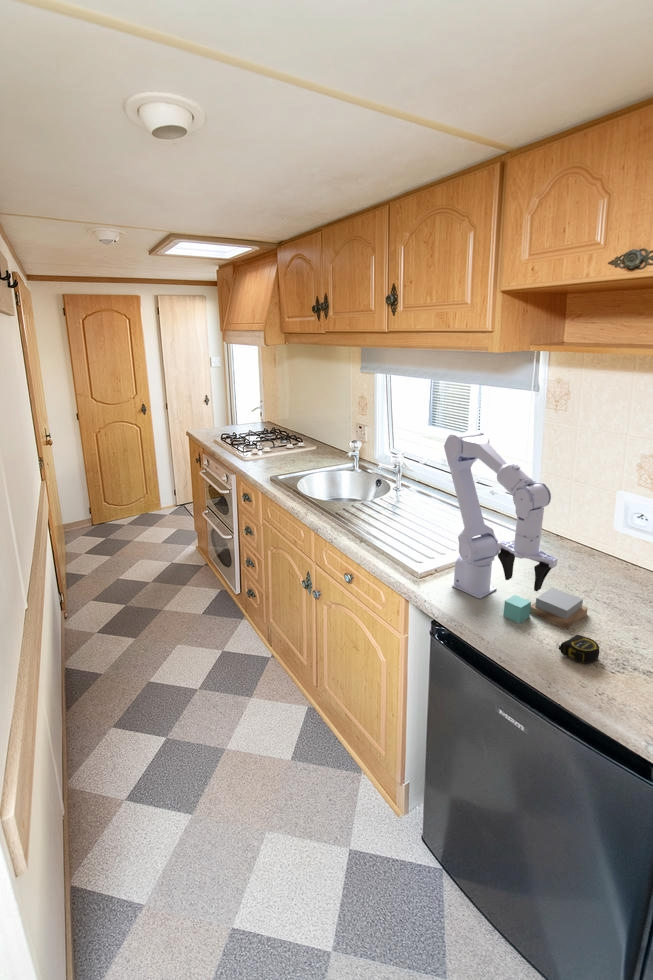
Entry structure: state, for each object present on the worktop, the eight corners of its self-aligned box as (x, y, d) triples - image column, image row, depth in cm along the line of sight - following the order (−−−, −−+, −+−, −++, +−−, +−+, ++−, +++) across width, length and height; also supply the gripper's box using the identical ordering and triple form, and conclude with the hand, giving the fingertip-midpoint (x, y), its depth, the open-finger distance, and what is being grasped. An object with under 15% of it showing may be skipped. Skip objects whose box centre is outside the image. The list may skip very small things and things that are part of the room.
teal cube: (503, 616, 132) (504, 600, 130) (513, 610, 134) (514, 594, 133) (519, 623, 128) (520, 607, 127) (529, 617, 131) (531, 601, 130)
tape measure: (576, 644, 120) (578, 630, 119) (604, 659, 114) (606, 645, 113) (557, 654, 117) (559, 640, 116) (585, 670, 111) (587, 656, 110)
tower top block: (535, 606, 132) (536, 597, 131) (551, 595, 137) (552, 587, 136) (565, 619, 126) (567, 610, 125) (581, 607, 131) (583, 599, 130)
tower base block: (528, 614, 133) (529, 606, 132) (549, 601, 139) (550, 593, 138) (566, 631, 126) (567, 622, 125) (586, 616, 132) (587, 608, 131)
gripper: (491, 529, 127) (487, 579, 131) (549, 547, 116) (543, 600, 121) (507, 521, 131) (502, 570, 135) (564, 538, 121) (557, 590, 125)
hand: (522, 584), depth 128 cm, fingers open, 7 cm apart
